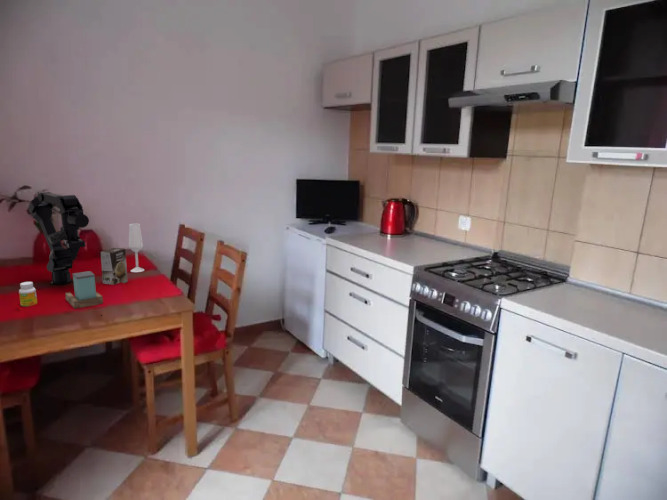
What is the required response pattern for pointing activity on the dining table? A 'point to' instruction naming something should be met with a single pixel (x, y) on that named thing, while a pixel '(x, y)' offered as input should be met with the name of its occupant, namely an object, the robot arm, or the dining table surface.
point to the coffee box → (114, 266)
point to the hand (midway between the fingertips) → (73, 259)
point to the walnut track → (83, 301)
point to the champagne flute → (135, 243)
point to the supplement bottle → (27, 294)
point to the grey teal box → (84, 285)
